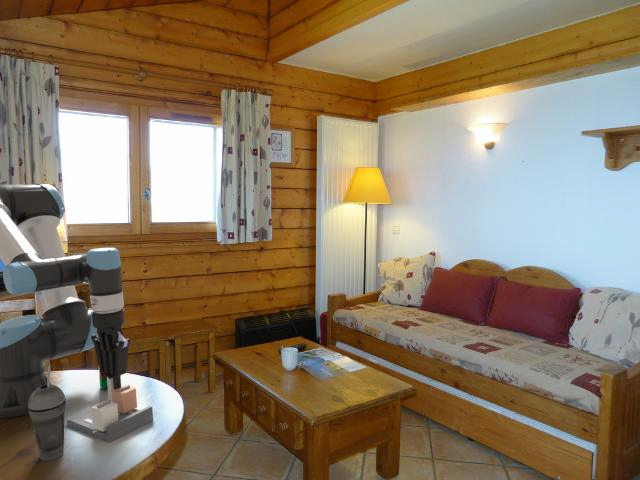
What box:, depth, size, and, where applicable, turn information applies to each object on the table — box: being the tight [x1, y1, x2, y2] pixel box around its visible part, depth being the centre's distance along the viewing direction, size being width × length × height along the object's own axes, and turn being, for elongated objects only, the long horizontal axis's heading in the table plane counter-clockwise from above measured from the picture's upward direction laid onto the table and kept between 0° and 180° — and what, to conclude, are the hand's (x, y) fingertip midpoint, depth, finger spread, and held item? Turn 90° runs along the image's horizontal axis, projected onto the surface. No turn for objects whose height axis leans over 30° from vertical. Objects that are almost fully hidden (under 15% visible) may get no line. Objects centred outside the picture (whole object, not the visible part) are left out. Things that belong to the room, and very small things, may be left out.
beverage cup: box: [28, 365, 67, 462], centre depth 104 cm, size 7×7×20 cm
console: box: [66, 405, 154, 443], centre depth 119 cm, size 17×14×4 cm
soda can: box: [98, 366, 108, 390], centre depth 141 cm, size 5×5×12 cm
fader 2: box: [112, 384, 138, 414], centre depth 122 cm, size 4×4×6 cm
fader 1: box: [90, 399, 118, 432], centre depth 113 cm, size 4×4×6 cm
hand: (115, 400), depth 124 cm, fingers closed
